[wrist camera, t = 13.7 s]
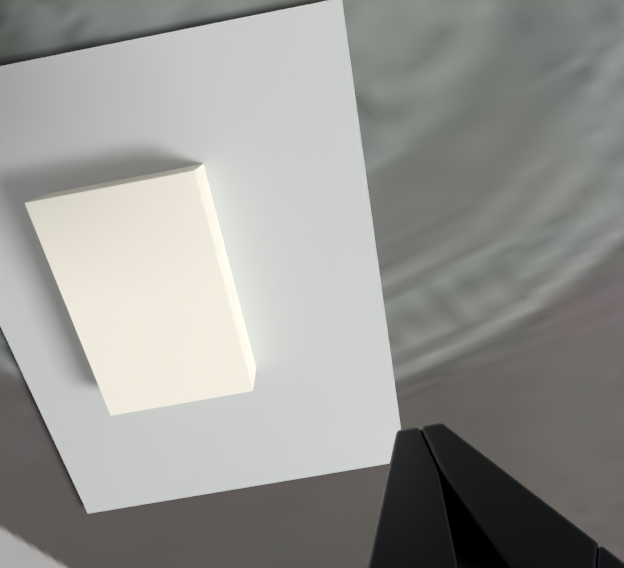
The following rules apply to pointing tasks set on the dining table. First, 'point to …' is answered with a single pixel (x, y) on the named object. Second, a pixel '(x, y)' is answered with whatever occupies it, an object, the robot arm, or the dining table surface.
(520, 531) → the robot arm
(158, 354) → the block
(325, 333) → the mat
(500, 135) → the dining table surface
